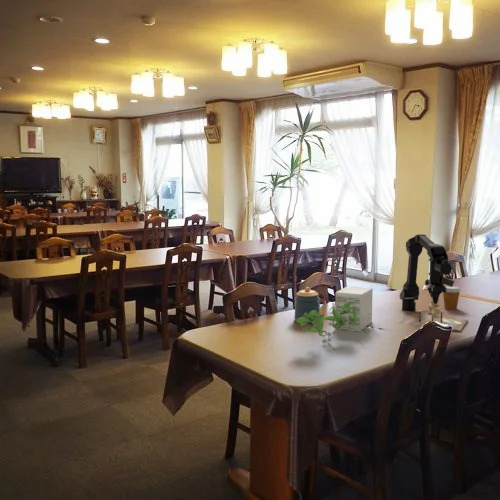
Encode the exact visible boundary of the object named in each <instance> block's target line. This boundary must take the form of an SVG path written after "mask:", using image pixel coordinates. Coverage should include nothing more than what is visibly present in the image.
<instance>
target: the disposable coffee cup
mask: <svg viewBox="0 0 500 500" xmlns="http://www.w3.org/2000/svg"><path fill="white" fill-rule="evenodd" d="M444 286H445V287H446V288H447V290H446V292H442V295H443V296H442V297H443V304H444V309H445V310H452V311H455V310H457V309H458V303H459V299H460V298H459V297H460V292H461V287H459V286H456V285H453V286H452V287H450V286H448V285H444Z"/></svg>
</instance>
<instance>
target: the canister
mask: <svg viewBox="0 0 500 500" xmlns="http://www.w3.org/2000/svg"><path fill="white" fill-rule="evenodd" d="M293 298H294V300H295V302H294V321H295V322H296V320H297V319H298V318H300V317H306V316H304V313H307V314H308V315H309V313H310V312H311V311H312V310H316V312H317V314H318V312H319V308H321V304H320V300H321V298H320V297H319V292H317V291H316V290H313V289H311V288H310V287H309V286H306V287H305V288H304V289H301V290H299V291H298V292H296V296H295V297H293ZM319 314H321V312H319ZM315 315H316V314H315ZM314 319H315V318H314ZM314 319H313V321H314ZM313 321H312V322H313ZM306 325H313V324H312V323H307V324H306Z"/></svg>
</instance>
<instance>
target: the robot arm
mask: <svg viewBox="0 0 500 500" xmlns="http://www.w3.org/2000/svg"><path fill="white" fill-rule="evenodd" d="M423 248H424V249H425V250H426V251H427V252H426V254H427V255H428V257H429V259H428V261H429V272H428V276H429V279H426V280H425V281H424V285H425V286H426V288H427V291H428V293H429V296H430V298H431V297H432V298H433V301H434V304H437V301H438V298H440V295H441V294H443V292H446V290H447V288H446V287H445V286H450V287H452V286H454V283H455V280H453V279H451V277H450V276H449V274H451V273H452V271H453V266H452V265H451V264H450V263H449V255H448V253H447V250H446V248H445V247H444V246H443V245H442V244H438V243H435V241H434V242H433V240H431V239H430V238H429V237H427V235H426V234H424V233H422V234H419V233H418V234H416V235H414V236H413V237H410V238H409V239H407V240H406V242H405V250H406V252H407V254H408V263H407V265H408V266H407V277H406V282H404V284H403V285H402V289H401V292H400V293H399V299H400V300H401V301H402V303H401V311H406V312H413V313H414V312H415V311H416V310H417V302H416V301H418V300H419V297H420V286H418V284H417V277H418V264H419V257H420V255H421V254H422V253H423Z"/></svg>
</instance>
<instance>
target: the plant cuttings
mask: <svg viewBox="0 0 500 500" xmlns="http://www.w3.org/2000/svg"><path fill="white" fill-rule="evenodd" d="M336 303H337V302H336V301H335V302H332V306H331V307H330V308H329V311H328V313H329V316H325V314H326V313H325V311H323V313H321V312H320V311H322V309H324V308H325V304H324V305H321V306H320V308H319V312H320V314H319V312H318V314H317V312H316V310H312V311H311V312H310V313H309V315H308V314H307V313H304V316H306V317H300V318H298V319H297V320H296V321H295V322H296V323H297V324H300V328H301V329H302V330H303V331H306V332H308V333H317V334H318V336H320V337H322V338H323V339H322V340H321V342H322V344H324V345H326V344H328V345H329V347H330V348H333V347H332V345H331V344H330V342H332V339H333V338H334V336H335V335H337V332H338V331H337V330H340V329H339V328H341V327H342V326H343V325H345V322H346V321H348V320H345V321H344V322H343V318H342V317H341V315H343V314H346V313H348V314H349V312H350V310H349V308H350V307H352V308H353V306H350V305H351V304H354V303H355V302H354V301H352V302H350V303H349V302H346V303H345V304H344V306H341V308H342V309H343V311H340V312H339V313H340V314H339V313H338V312H337V310H336ZM337 304H338V303H337ZM337 306H338V305H337ZM341 308H340V309H339V310H342V309H341ZM331 310H332V312H331ZM348 311H349V312H348ZM315 314H316V315H315ZM314 318H315V319H314ZM353 318H354V319H353ZM313 319H314V321H313ZM324 320H325V321H326V320H327V321H329V322H328V323H327V324H328V325H329V326H332V328H334V329H335V330H333V331H331V332H330V331H328V332H327V331H326V330H323V329H324ZM312 321H313V322H312ZM335 321H337V322H338V323H336V324H335ZM349 321H350V322H352V323H353V322H355V323H356V322H357V312H356V306H355V307H354V308H353V316H351V315H350V314H349ZM307 323H312V324H311V325H312V326H311V327H302V326H304V325H308V324H307ZM357 326H358V325H357ZM358 327H359V326H358ZM345 328H346V327H345ZM348 328H350V325H349V327H348ZM348 328H346V330H345V331H349V330H348ZM359 329H360V328H359ZM342 330H344V327H343V329H342ZM360 330H361V329H360ZM360 332H361V333H362V334H364V335H363V336H366V337H368V339H373V338H372V337H371V336H369V335H368V334H366V333H364V331H363V330H361V331H360ZM324 333H325V335H323V334H324ZM351 335H352V336H353V337H354V338H355V339H356V340H357V341H358V342H359V343H360V344H361V346H364V345H363V343H362V341H361V340H359V338H357V337H356V336H355V335H354V334H353V333H351ZM326 336H327V338H325V337H326ZM331 336H332V337H331ZM333 351H334V352H335V353H337V351H336V350H335V349H333ZM337 354H338V353H337Z"/></svg>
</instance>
